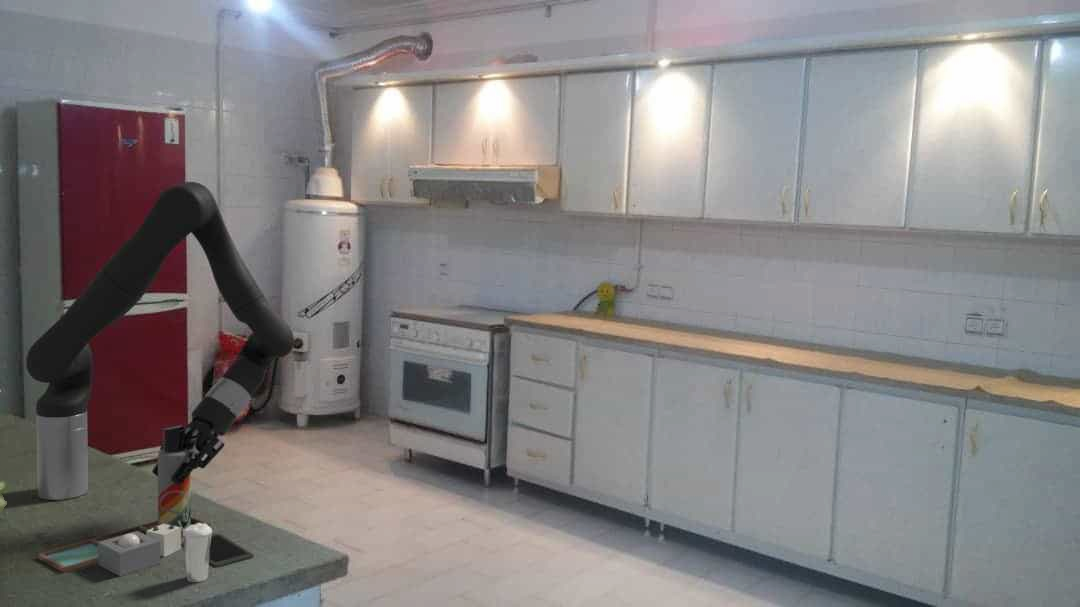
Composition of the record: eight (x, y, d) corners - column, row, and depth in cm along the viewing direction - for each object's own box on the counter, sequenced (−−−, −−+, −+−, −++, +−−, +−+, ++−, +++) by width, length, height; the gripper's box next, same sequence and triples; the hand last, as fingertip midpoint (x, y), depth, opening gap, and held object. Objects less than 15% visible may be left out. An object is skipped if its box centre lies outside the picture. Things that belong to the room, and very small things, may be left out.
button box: (98, 564, 150) (97, 542, 149) (137, 552, 155) (137, 530, 155) (120, 576, 146) (120, 553, 145) (159, 563, 151) (159, 541, 151)
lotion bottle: (178, 536, 164) (178, 431, 162) (151, 532, 165) (151, 428, 163) (196, 525, 169) (196, 423, 167) (169, 522, 170) (169, 421, 168)
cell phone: (215, 570, 151) (216, 566, 151) (179, 546, 160) (179, 542, 160) (255, 559, 156) (255, 555, 156) (218, 536, 166) (218, 532, 165)
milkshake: (182, 572, 148) (182, 515, 147) (215, 572, 149) (215, 515, 148) (173, 584, 144) (173, 525, 143) (207, 584, 144) (207, 525, 143)
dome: (114, 560, 150) (113, 534, 150) (133, 555, 153) (133, 528, 152) (124, 566, 148) (124, 539, 148) (144, 560, 151) (143, 533, 150)
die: (146, 552, 156) (146, 527, 155) (163, 544, 159) (163, 520, 159) (164, 556, 154) (164, 531, 154) (180, 548, 158) (181, 524, 157)
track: (37, 558, 151) (37, 553, 151) (183, 516, 174) (183, 512, 173) (63, 572, 146) (63, 568, 146) (210, 528, 168) (210, 524, 168)
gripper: (188, 389, 174) (130, 460, 166) (232, 401, 166) (174, 476, 158) (211, 411, 179) (157, 481, 171) (255, 423, 171) (200, 498, 163)
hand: (165, 478), depth 164 cm, fingers closed on lotion bottle, 5 cm apart
